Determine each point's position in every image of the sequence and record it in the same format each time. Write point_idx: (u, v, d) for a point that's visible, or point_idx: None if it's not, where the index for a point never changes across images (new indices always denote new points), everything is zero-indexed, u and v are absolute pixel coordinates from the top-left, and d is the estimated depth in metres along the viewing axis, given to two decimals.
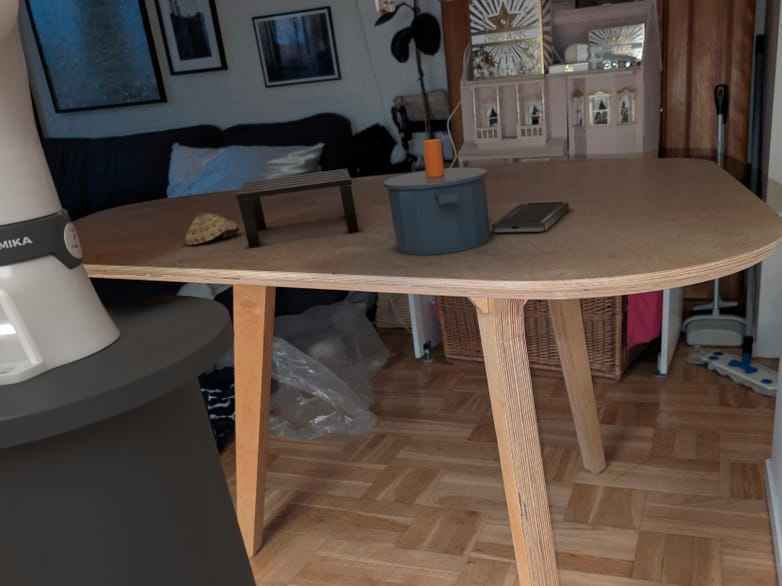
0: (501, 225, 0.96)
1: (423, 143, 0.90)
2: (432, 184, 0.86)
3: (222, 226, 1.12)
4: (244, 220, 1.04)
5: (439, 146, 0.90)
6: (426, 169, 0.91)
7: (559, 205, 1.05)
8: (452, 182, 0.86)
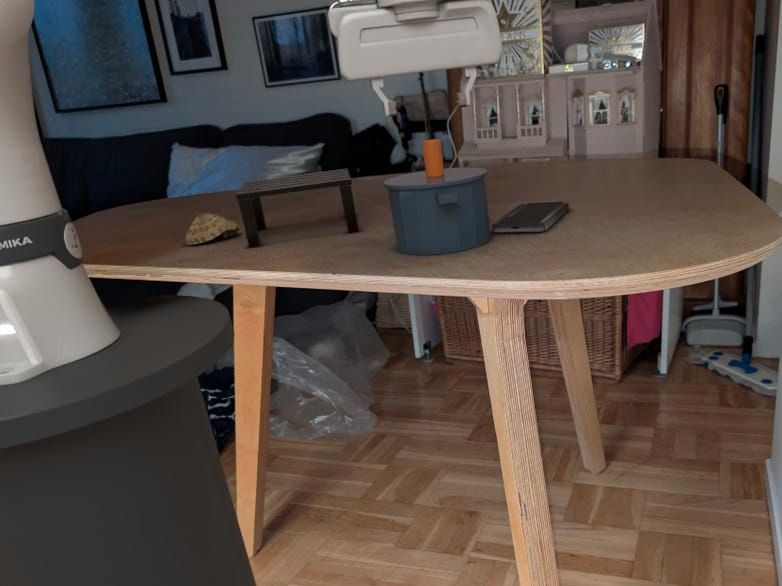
0: (501, 225, 0.96)
1: (423, 143, 0.90)
2: (432, 184, 0.86)
3: (222, 226, 1.12)
4: (244, 220, 1.04)
5: (439, 146, 0.90)
6: (426, 169, 0.91)
7: (559, 205, 1.05)
8: (452, 182, 0.86)
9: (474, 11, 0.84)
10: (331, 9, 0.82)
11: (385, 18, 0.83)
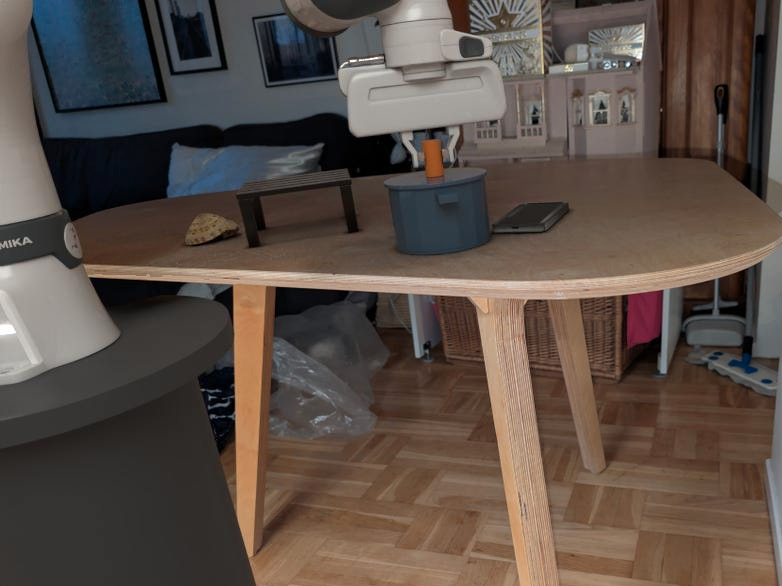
0: (501, 225, 0.96)
1: (423, 143, 0.90)
2: (432, 184, 0.86)
3: (222, 226, 1.12)
4: (244, 220, 1.04)
5: (439, 146, 0.90)
6: (426, 169, 0.91)
7: (559, 205, 1.05)
8: (452, 182, 0.86)
9: (480, 71, 0.87)
10: (341, 69, 0.85)
11: (393, 78, 0.85)
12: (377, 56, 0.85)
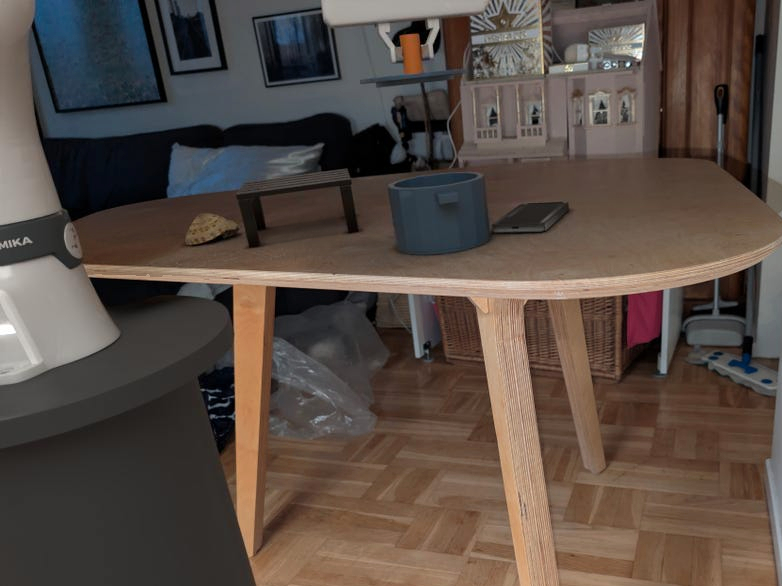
0: (501, 225, 0.96)
1: (401, 37, 0.86)
2: (409, 75, 0.82)
3: (222, 226, 1.12)
4: (244, 220, 1.04)
5: (418, 40, 0.86)
6: (404, 66, 0.87)
7: (559, 205, 1.05)
8: (430, 73, 0.82)
9: None
10: None
11: None
12: None
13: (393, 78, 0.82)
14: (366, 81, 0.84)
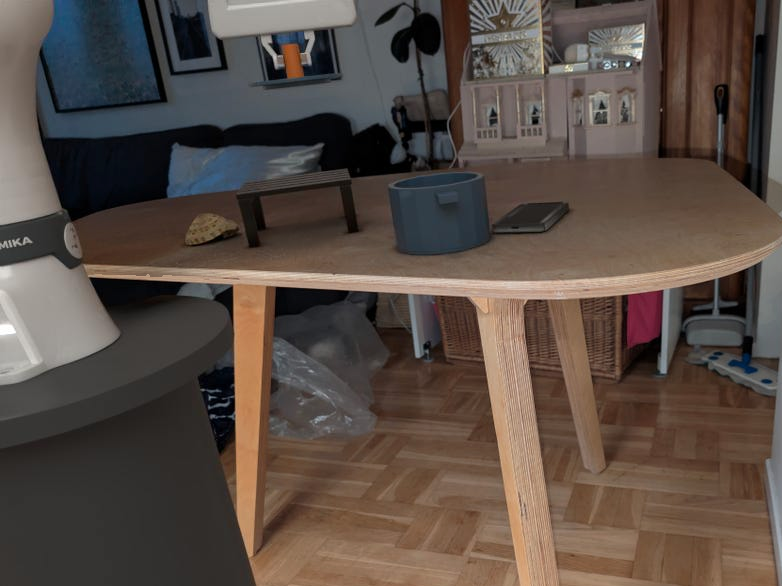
0: (501, 225, 0.96)
1: (282, 46, 1.00)
2: (284, 79, 0.96)
3: (222, 226, 1.12)
4: (244, 220, 1.04)
5: (296, 49, 1.00)
6: (286, 71, 1.01)
7: (559, 205, 1.05)
8: (302, 78, 0.97)
9: None
10: None
11: None
12: None
13: (271, 82, 0.97)
14: (251, 85, 0.99)
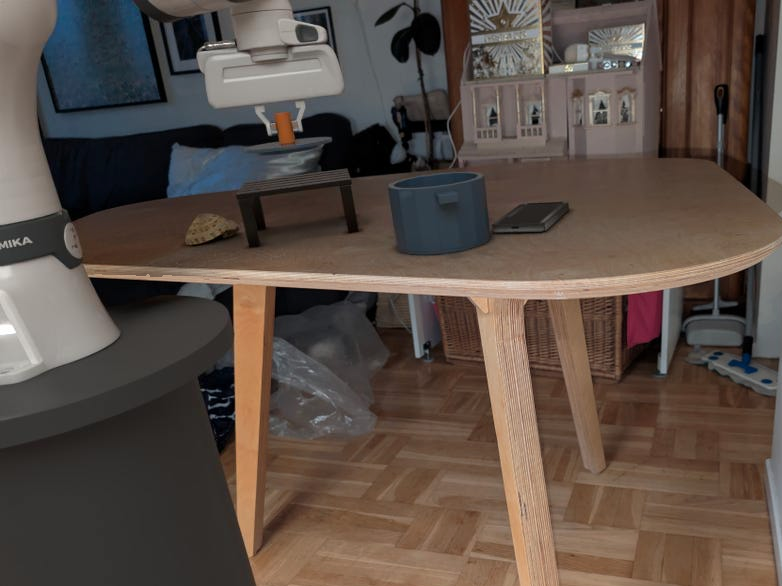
0: (501, 225, 0.96)
1: (274, 115, 1.07)
2: (276, 148, 1.03)
3: (222, 226, 1.12)
4: (244, 220, 1.04)
5: (288, 117, 1.07)
6: (279, 137, 1.08)
7: (559, 205, 1.05)
8: (293, 146, 1.03)
9: (317, 54, 1.04)
10: (199, 52, 1.02)
11: (243, 59, 1.02)
12: (229, 41, 1.02)
13: (264, 151, 1.03)
14: (246, 151, 1.06)
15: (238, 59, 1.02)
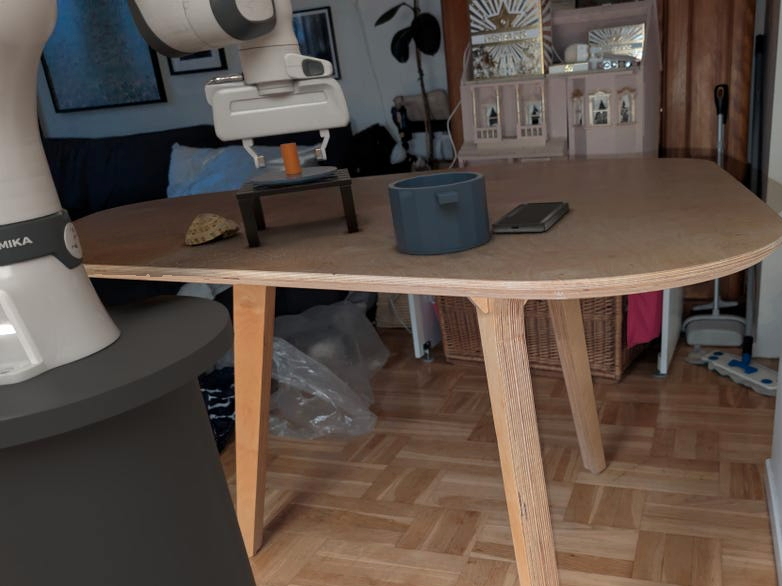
0: (501, 225, 0.96)
1: (281, 146, 1.09)
2: (283, 180, 1.05)
3: (222, 226, 1.12)
4: (244, 220, 1.04)
5: (294, 148, 1.09)
6: (285, 168, 1.10)
7: (559, 205, 1.05)
8: (300, 178, 1.05)
9: (323, 87, 1.05)
10: (207, 85, 1.04)
11: (250, 93, 1.04)
12: (237, 75, 1.04)
13: (271, 182, 1.05)
14: (252, 182, 1.07)
15: (245, 92, 1.04)
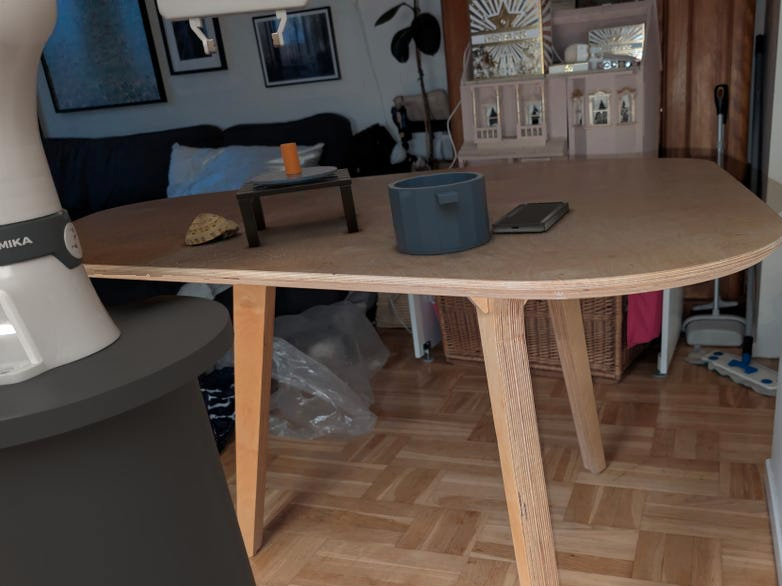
0: (501, 225, 0.96)
1: (281, 146, 1.09)
2: (283, 180, 1.05)
3: (222, 226, 1.12)
4: (244, 220, 1.04)
5: (294, 148, 1.09)
6: (285, 168, 1.10)
7: (559, 205, 1.05)
8: (300, 178, 1.05)
9: None
10: None
11: None
12: None
13: (271, 182, 1.05)
14: (252, 182, 1.07)
15: None
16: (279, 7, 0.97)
